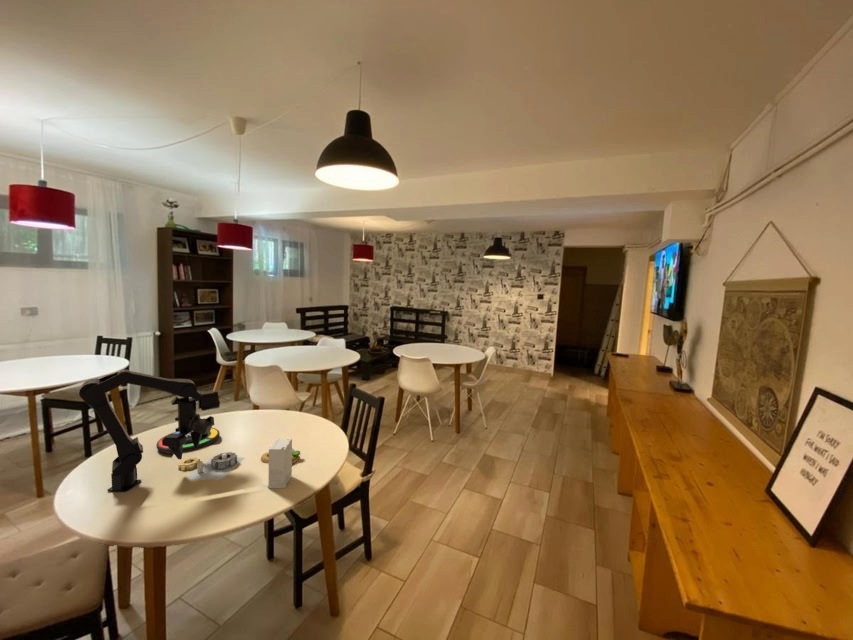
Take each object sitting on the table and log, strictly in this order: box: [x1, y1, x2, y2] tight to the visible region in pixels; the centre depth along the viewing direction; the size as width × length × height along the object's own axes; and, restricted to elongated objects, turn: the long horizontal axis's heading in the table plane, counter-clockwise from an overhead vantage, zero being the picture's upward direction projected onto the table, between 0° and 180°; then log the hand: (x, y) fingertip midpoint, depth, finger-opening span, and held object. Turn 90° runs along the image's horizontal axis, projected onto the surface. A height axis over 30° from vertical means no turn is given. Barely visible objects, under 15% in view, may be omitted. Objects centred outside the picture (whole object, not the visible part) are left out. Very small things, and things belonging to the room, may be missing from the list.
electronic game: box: [155, 427, 221, 455], centre depth 150 cm, size 23×23×5 cm
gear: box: [210, 451, 238, 470], centre depth 131 cm, size 9×9×3 cm
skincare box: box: [267, 438, 293, 489], centre depth 121 cm, size 8×6×15 cm
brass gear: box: [177, 457, 201, 472], centre depth 129 cm, size 7×7×3 cm
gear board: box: [185, 454, 245, 481], centre depth 128 cm, size 16×13×5 cm
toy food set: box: [260, 447, 301, 465], centre depth 138 cm, size 13×13×3 cm
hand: (188, 453), depth 129 cm, fingers open, 9 cm apart
